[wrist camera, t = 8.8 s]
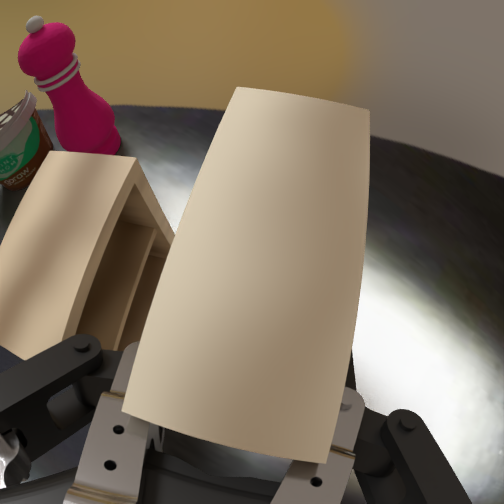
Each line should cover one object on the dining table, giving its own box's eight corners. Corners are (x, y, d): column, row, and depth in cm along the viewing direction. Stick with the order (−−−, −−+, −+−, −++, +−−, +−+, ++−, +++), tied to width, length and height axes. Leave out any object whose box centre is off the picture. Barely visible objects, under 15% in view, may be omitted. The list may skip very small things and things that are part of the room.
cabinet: (82, 357, 25) (-28, 325, 12) (121, 241, 30) (50, 150, 17) (269, 417, 23) (281, 455, 10) (300, 281, 28) (333, 190, 15)
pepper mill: (135, 144, 35) (77, -1, 16) (88, 182, 33) (3, 46, 15) (109, 120, 37) (55, -4, 19) (66, 154, 35) (-5, 36, 17)
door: (211, 395, 16) (121, 410, 5) (249, 249, 20) (237, 86, 9) (299, 415, 16) (374, 467, 5) (329, 265, 19) (400, 118, 8)
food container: (-1, 215, 32) (-45, 174, 23) (-4, 186, 34) (-42, 146, 25) (69, 162, 34) (33, 108, 25) (60, 137, 36) (29, 87, 27)
